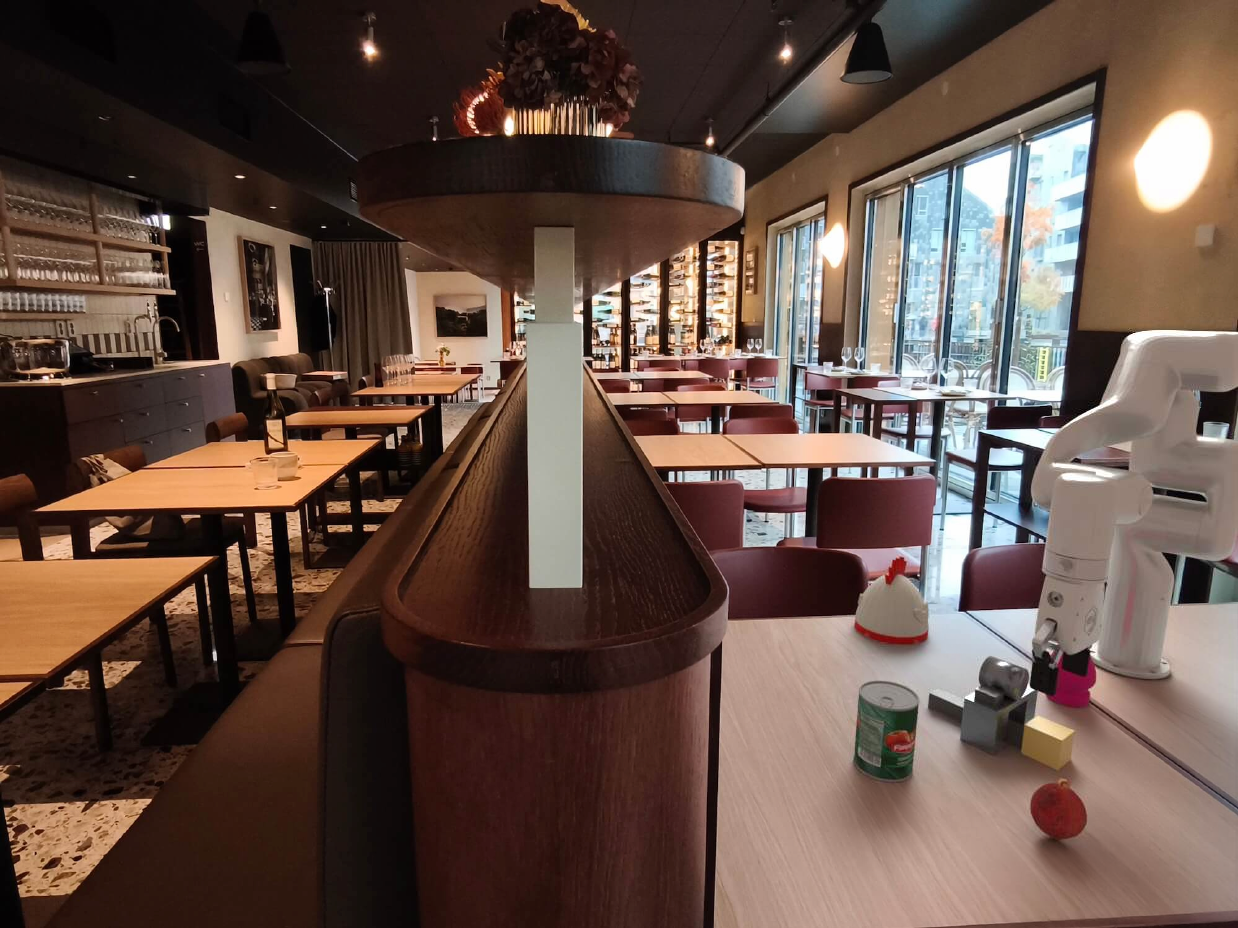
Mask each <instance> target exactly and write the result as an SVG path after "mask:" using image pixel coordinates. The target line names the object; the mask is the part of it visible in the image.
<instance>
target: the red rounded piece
mask: <svg viewBox="0 0 1238 928" xmlns="http://www.w3.org/2000/svg"><path fill="white" fill-rule="evenodd" d="M1070 786H1071V783H1070V782H1069V780H1068V779H1066V778H1062V777H1060V778H1059V779H1058V780H1057V781H1055V782H1049V783H1045V784H1043V785H1041V786H1040V787H1039V788H1037V789H1036V790H1035V791H1034V792H1033V794H1032V796H1031V798H1030V805H1029V810H1030V815H1031V817H1032V819H1033V821H1034V823H1035V825H1036V827H1037V828H1038V829H1039V830H1040V831H1041V832H1043V834H1045V835H1047V836H1048V837H1049V838H1052V839H1053V840H1055V841H1061V840H1068V839H1072V838H1077V837H1078V836H1079V835H1080V834H1081V833H1082V832H1083V831H1084V830H1085V829H1086V825H1087V823H1088V814H1087V813H1088V812H1087V809H1086V806H1085V804H1084V802H1083V800H1082V799H1081V797H1080V796H1079V795H1078V794H1077V793H1076V792H1075V791H1074V790H1073V789H1072V788H1070Z"/></svg>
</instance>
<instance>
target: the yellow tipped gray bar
mask: <svg viewBox="0 0 1238 928" xmlns="http://www.w3.org/2000/svg"><path fill="white" fill-rule="evenodd" d="M928 693H929V694H928V702H927V708H928V709H931V710H933V711H934V712H937V713H939V714H942V715H944V716H945V717H948V718H950V719H952V720H955V721H957V722H959V723H961V724H962V717H963V707H964V698H961V697H958V696H956V695H954V694H951V693H949V692H947V691H945V690H942V689H940V688H936V689H933V690H932V691H931V692H928ZM1075 732H1076V730H1074V729H1071V728H1069V727H1067V726H1064V725H1062V724H1059V723H1056V722H1055V721H1052V720H1049V719H1047V718H1044V717H1042V716H1040V715H1035V717H1034V718H1033V719H1032V720H1030V721H1029V722H1028V723H1026V724H1025V726H1024V725H1021V724H1019V723H1017V722H1015V721H1012V720H1010V719H1008V723H1007V731H1006V739H1005V744H1007V745H1009V746H1011V747H1014V748H1015V749H1017V750H1020V753H1021V754H1022V755H1024V756H1027V757H1028V758H1030V759H1034V760H1036V761H1038V762H1040V763H1042V764H1044V765H1046V766H1048V767H1050V768H1052V769H1054V770H1056V771H1059V770H1060V769H1061V768H1063V767H1064V766H1065V765H1066V764H1068V763H1069V761H1071V758H1072V753H1073V752H1072V751H1073V745H1074V738H1075Z"/></svg>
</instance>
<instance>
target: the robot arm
mask: <svg viewBox="0 0 1238 928" xmlns="http://www.w3.org/2000/svg"><path fill="white" fill-rule="evenodd" d="M1237 387H1238V331H1213V330H1212V331H1205V330H1204V331H1202V330H1200V331H1197V330H1195V331H1194V330H1171V329H1170V330H1164V329H1163V330H1145V331H1139V332H1135V333H1132V334H1129V335H1128V336H1126V337H1125V338H1124V339H1123V340H1122V344H1121V346H1120V354H1119V356H1118V359H1117V362H1116V364H1115V366H1114V369H1113V370H1112V374H1111V376H1110V378H1109V381H1108V383H1107V386H1106V389H1105V390H1104V392H1103V395H1102V398H1101V401H1100V403H1099V405H1098V406H1096V407H1094V408H1091V409H1090V410H1087V411H1086V412H1084V413H1082V414H1080V415H1078V416H1077V417H1075V418H1073V419H1072V420H1071V421H1069V422H1067V423H1066V424H1065V425H1063V426H1062V427H1060V429H1058V430H1057V431H1056V432H1054V434H1053V435H1052V436H1051V437H1050V439H1049V440H1048V442H1047V444H1046V446H1045V447H1044V450H1043V452H1042V455H1041V457H1040V458H1039V461H1038V464H1037V465H1036V468H1035V471H1034V474H1033V478H1032V479H1031V480H1032V481H1031V487H1030V492H1031V493H1030V494H1031V499H1032V500H1033V503H1035V505H1036V506H1037V507H1038V508H1040V509H1042V510H1044V511H1047V512H1049V517H1048V518H1049V519H1048V526H1047V532H1046V538H1045V540H1046V541H1045V546H1044V552H1043V560H1042V568H1041V571H1042V572H1043V573H1044V574H1045V575H1046V576H1045V577H1044V582H1043V586H1042V591H1041V595H1040V599H1039V604H1038V609H1037V613H1036V614H1037V615H1036V621H1035V628H1034V629H1035V631H1034V636H1033V638H1032V641H1031V645H1032V649H1031V662H1032V664H1031V670H1030V671H1031V672H1030V676H1029V683H1028V684H1029V686H1030V688H1032V689H1034V690H1037V691H1038V692H1039V693H1042V694H1045V695H1046V694H1047V695H1049V696H1054V695H1055V694H1056V690H1057V683H1058V676H1059V669H1060V668H1057V664H1058V662H1059V660H1060V658H1061V655H1062V653H1063V651H1064V653H1063V660H1062V669H1063V670H1065V671H1068V672H1071V673H1073V674H1076V675H1079V676H1082V677H1085V676H1087V673H1088V666H1089V660H1090V655H1091V658H1092V661H1093V664H1094V665H1096V666H1098V667H1100V668H1102V669H1104V670H1106V671H1109V672H1112V673H1115V674H1117V675H1121V676H1125V677H1129V678H1135V679H1140V680H1141V679H1142V680H1143V679H1144V680H1158V679H1159V680H1161V679H1165V678H1166V677H1168V676H1169V675H1170V673H1171V670H1172V667H1171V664H1170V663H1169V661H1167V660H1166V659H1165V658H1163V657H1162V656H1163V650H1164V646H1165V645H1164V643H1165V637H1166V631H1167V626H1168V619H1169V613H1170V607H1171V602H1172V596H1173V591H1174V585H1175V584H1174V583H1175V577H1174V576H1175V575H1174V572H1173V569H1172V567H1171V565H1170V564H1169V562H1168V560H1167V559H1166V557H1165V556H1164V555H1163V553H1164V554H1165V553H1166V554H1167V553H1168V554H1172V555H1173V554H1174V555H1178V556H1183V557H1189V558H1194V559H1201V560H1206V561H1213V562H1218V561H1222V560H1226V559H1228V557H1230V555H1231V554H1232V552H1233V551H1234V549H1235V545H1236V542H1237V538H1238V441H1236V440H1232V439H1228V438H1223V437H1222V438H1221V437H1212V436H1211V437H1210V436H1201V435H1198V434H1197V427H1198V426H1197V425H1198V419H1199V413H1200V403H1199V401H1198V399H1197V397H1196V396H1195V395H1194V393H1193V391H1196V392H1211V393H1214V392H1215V393H1218V392H1219V393H1222V392H1223V393H1225V392H1230V391H1231V390H1234V389H1236V388H1237ZM1128 442H1131V445H1130V454H1129V460H1128V461H1129V462H1128V470H1127V469H1120V468H1114V467H1107V466H1102V465H1101V466H1100V465H1092V464H1085V463H1079V462H1072V461H1073V460H1074V459H1075V458H1077V457H1078V456H1081V455H1082V454H1085V453H1087V452H1090V451H1092V450H1096V449H1100V448H1104V447H1109V446H1115V445H1118V444H1119V445H1121V444H1125V443H1128ZM1153 488H1157V489H1163V490H1170V491H1171V490H1172V491H1177V492H1179V491H1180V492H1186V493H1190V494H1191V493H1193V494H1199V495H1202V496H1203V497H1204V498H1205V500H1206V501H1199V500H1192V499H1187V498H1186V499H1185V498H1179V497H1174V496H1168V495H1162V494H1154V490H1153ZM1105 583H1106V587H1105ZM1052 642H1053V643H1052ZM1055 643H1056V644H1055ZM1058 644H1059V645H1058ZM1088 649H1090V650H1088ZM1047 650H1050V651H1052V652H1053V651H1055V652H1054V654H1053V656H1052V658H1051V656H1050V655H1051V653H1050V651H1047ZM1047 695H1046V696H1047Z"/></svg>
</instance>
